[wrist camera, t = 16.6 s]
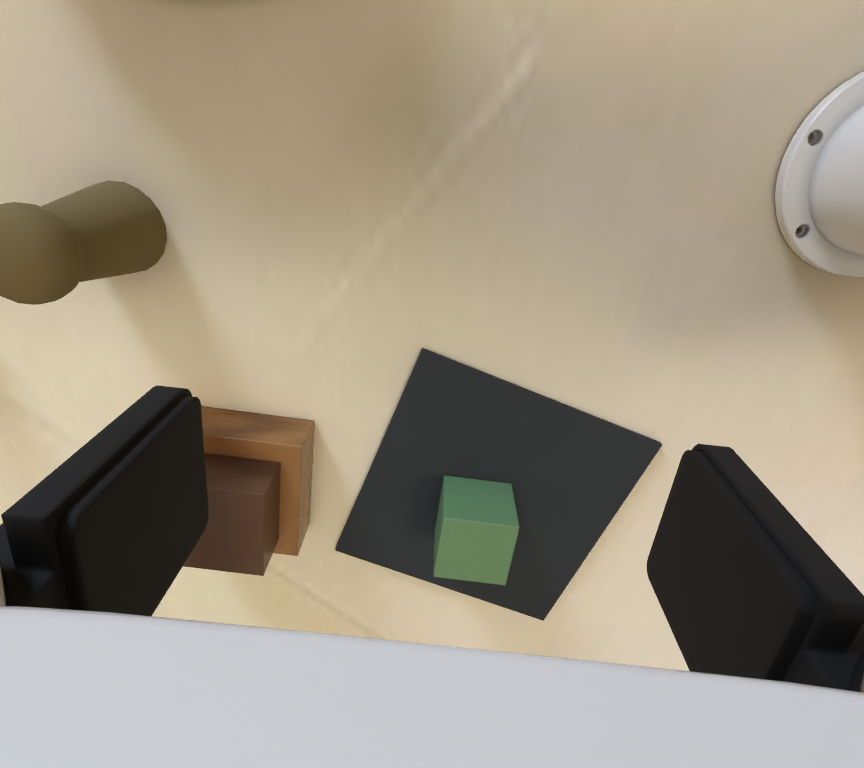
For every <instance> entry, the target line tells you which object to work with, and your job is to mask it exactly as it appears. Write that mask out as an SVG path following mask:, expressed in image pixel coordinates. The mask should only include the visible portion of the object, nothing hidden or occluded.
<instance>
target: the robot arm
mask: <svg viewBox="0 0 864 768" xmlns="http://www.w3.org/2000/svg"><path fill="white" fill-rule="evenodd" d="M809 134H810V139H809V141H808V136H809ZM775 207H776V217H777V220H778V224H779V227H780V230H781V233H782V235H783V237H784V238H785V240H786V242H787V243H788V245H789V247H790V248H791V249H792V250H793V251H794V252H795V253H796V254H797V255H798V256H799V257H800V258H801V259H802V260H804V261H805V262H807V263H809V264H810V265H812V266H814V267H815V268H818V269H821V270H824V271H826V272H829V273H832V274H837V275H841V276H846V277H864V71H863V72H861V73H860V74H858V75H856V76H855V77H853V78H851V79H849V80H848V81H846V82H844V83H843V84H841V85H840V86H839V87H837V88H836V89H835V90H834V91H833V92H831V93H830V94H829V95H828V96H826V97H825V98H824V99H823V100H822V101H821V102H820V103H819V104H818V105H817V106H816V107H815V108H814V109H813V111H812V112H811V113H810V114H809V115H808V116H807V117H806V118H805V120H804V121H803V123H802V124H801V126H800V127H799V129H798V130H797V132H796V133H795V135H794V136H793V138H792V140H791V142H790V144H789V146H788V148H787V150H786V152H785V154H784V157H783V159H782V163H781V166H780V169H779V173H778V176H777V182H776V191H775ZM797 228H798V231H797V232H796V230H797ZM1 516H2V519H3V524H1V525H0V768H864V596H863V594H862V593H861V592H860V591H859V590H858V589H857V588H856V587H855V586H854V584H853V583H852V582H851V581H850V580H849V579H848V578H847V577H846V575H845V574H844V573H843V572H842V571H841V570H840V569H839V568H838V567H837V565H836V564H835V563H834V562H833V561H832V560H831V559H830V558H829V556H828V555H827V554H826V553H825V552H824V551H823V550H822V549H821V548H820V546H819V545H818V544H817V543H816V542H815V541H814V540H813V539H812V537H811V536H810V535H809V534H808V533H807V532H806V531H805V530H804V529H803V527H802V526H801V525H800V524H799V523H798V522H797V521H796V520H795V518H794V517H793V516H792V515H791V514H790V513H789V512H788V511H787V510H786V508H785V507H784V506H783V505H782V504H781V503H780V502H779V501H778V499H777V498H776V497H775V496H774V495H773V494H772V493H771V492H770V491H769V489H768V488H767V487H766V486H765V485H764V484H763V483H762V482H761V480H760V479H759V478H758V477H757V476H756V475H755V474H754V473H753V472H752V470H751V469H750V468H749V467H748V466H747V465H746V464H745V463H744V461H743V460H742V459H741V458H740V457H739V456H738V455H737V454H736V453H735V451H734V450H733V449H731V448H730V447H722V446H713V445H704V444H698V445H696V446H695V447H694V448H693V449H692V451H691V450H687V451H685V452H684V454H683V456H682V458H681V461H680V464H679V467H678V470H677V473H676V476H675V479H674V482H673V485H672V488H671V491H670V494H669V497H668V500H667V503H666V506H665V509H664V512H663V515H662V518H661V521H660V524H659V527H658V530H657V533H656V536H655V539H654V542H653V545H652V548H651V550H650V553H649V556H648V560H647V573H648V577H649V580H650V582H651V585H652V587H653V589H654V591H655V594H656V596H657V598H658V600H659V603H660V605H661V607H662V609H663V612H664V614H665V616H666V618H667V621H668V623H669V625H670V627H671V630H672V632H673V634H674V636H675V639H676V641H677V643H678V645H679V648H680V650H681V652H682V654H683V657H684V659H685V661H686V663H687V666H688V668H689V670H690V671H681V670H672V669H663V668H653V667H644V666H635V665H626V664H616V663H607V662H597V661H587V660H577V659H568V658H558V657H548V656H538V655H528V654H519V653H509V652H499V651H489V650H480V649H470V648H460V647H450V646H440V645H431V644H421V643H411V642H402V641H392V640H382V639H373V638H363V637H353V636H344V635H334V634H324V633H315V632H305V631H295V630H286V629H275V628H265V627H255V626H244V625H234V624H224V623H214V622H203V621H193V620H183V619H173V618H162V617H152V614H153V613H154V611H155V609H156V608H157V606H158V605H159V603H160V601H161V600H162V598H163V597H164V595H165V593H166V592H167V590H168V589H169V587H170V585H171V584H172V582H173V581H174V579H175V578H176V576H177V574H178V573H179V571H180V570H181V568H182V566H183V565H184V563H185V562H186V560H187V558H188V557H189V555H190V554H191V552H192V550H193V549H194V547H195V546H196V544H197V542H198V541H199V539H200V538H201V536H202V534H203V533H204V531H205V529H206V526H207V522H208V517H209V508H208V494H207V481H206V467H205V454H204V440H203V427H202V413H201V403H200V400H199V399H198V398H197V397H192V394H191V392H190V391H189V390H188V389H184V388H175V387H165V386H155V387H153V388H152V389H151V390H149V391H148V392H147V393H146V394H145V395H144V396H142V397H141V398H140V399H139V400H138V401H136V402H135V403H134V404H133V405H132V406H130V407H129V408H128V409H127V410H126V411H124V412H123V413H122V414H121V415H120V416H119V417H117V418H116V419H115V420H114V421H113V422H111V423H110V424H109V425H108V426H107V427H105V428H104V429H103V430H102V431H101V432H99V433H98V434H97V435H96V436H95V437H94V438H92V439H91V440H90V441H89V442H88V443H86V444H85V445H84V446H83V447H82V448H80V449H79V450H78V451H77V452H76V453H75V454H73V455H72V456H71V457H70V458H69V459H67V460H66V461H65V462H64V463H63V464H61V465H60V466H59V467H58V468H57V469H55V470H54V471H53V472H52V473H51V474H50V475H48V476H47V477H46V478H45V479H44V480H42V481H41V482H40V483H39V484H38V485H36V486H35V487H34V488H33V489H32V490H31V491H29V492H28V493H27V494H26V495H25V496H23V497H22V498H21V499H20V500H19V501H17V502H16V503H15V504H14V505H13V506H11V507H10V508H9V509H8V510H7V511H6V512H4V513H3V514H2V515H1Z"/></svg>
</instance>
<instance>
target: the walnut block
mask: <svg viewBox="0 0 864 768" xmlns="http://www.w3.org/2000/svg"><path fill="white" fill-rule="evenodd" d="M204 454H205V467H206V481H207V494H208V508H209V517H208V522H207V526H206V529H205V531H204V533H203V534H202V536H201V538H200V539H199V541H198V542H197V544H196V546H195V547H194V549H193V550H192V552H191V554H190V555H189V557H188V558H187V560H186V562H185V563H184V565H183V566H185V567H194V568H202V569H211V570H219V571H227V572H236V573H244V574H252V575H261V576H263V575H264V573H265V571H266V568H267V566H268V563H269V561H270V559H271V556H272V554H273V551H274V549H275V547H276V544H277V542H278V540H279V511H280V469H281V463H280V462H274V461H266V460H258V459H250V458H242V457H234V456H226V455H218V454H210V453H204Z"/></svg>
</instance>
